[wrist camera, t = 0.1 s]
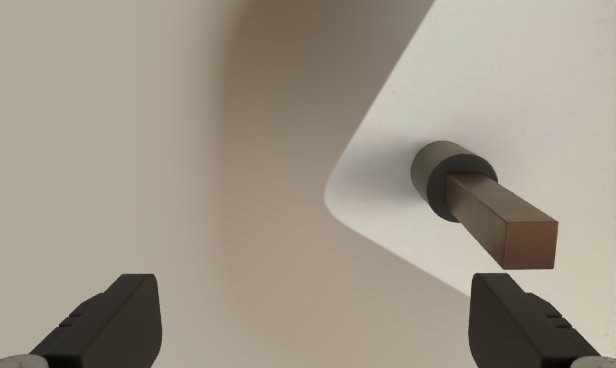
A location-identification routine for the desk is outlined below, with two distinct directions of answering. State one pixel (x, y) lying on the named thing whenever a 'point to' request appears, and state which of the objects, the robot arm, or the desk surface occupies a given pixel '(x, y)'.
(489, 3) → the desk surface
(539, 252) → the brown square bar
